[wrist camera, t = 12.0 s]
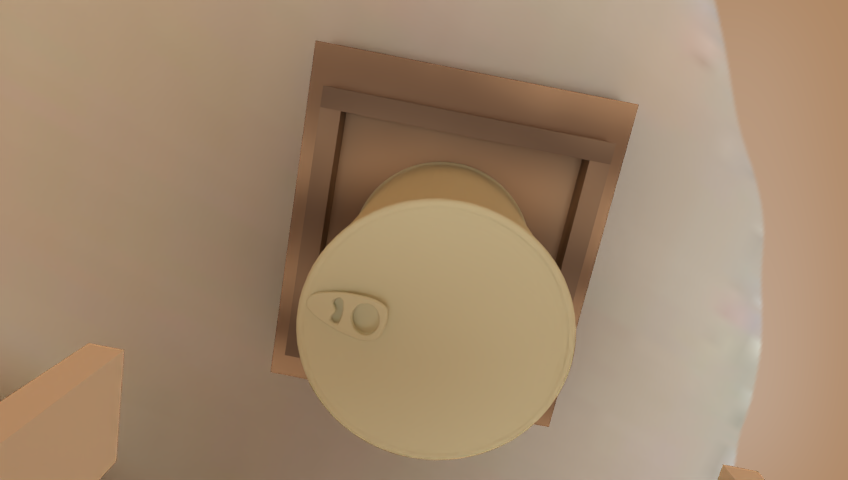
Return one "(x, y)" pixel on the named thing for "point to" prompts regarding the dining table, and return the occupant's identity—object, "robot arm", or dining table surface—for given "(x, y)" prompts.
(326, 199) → the stand
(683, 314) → the dining table surface
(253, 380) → the dining table surface
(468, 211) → the can
